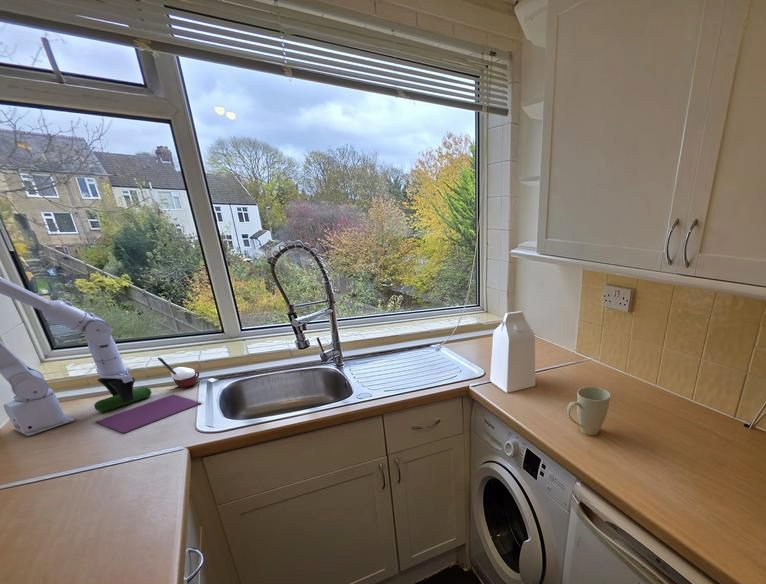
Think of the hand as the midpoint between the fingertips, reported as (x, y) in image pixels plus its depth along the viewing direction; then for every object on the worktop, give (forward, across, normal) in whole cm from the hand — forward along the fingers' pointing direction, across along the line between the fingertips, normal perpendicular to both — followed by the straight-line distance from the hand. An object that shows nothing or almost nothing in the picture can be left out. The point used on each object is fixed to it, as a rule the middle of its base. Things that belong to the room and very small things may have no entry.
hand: (124, 399), depth 125 cm
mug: (+2, -134, -46) cm, 142 cm away
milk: (+2, -101, -68) cm, 122 cm away
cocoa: (+2, -2, -16) cm, 16 cm away
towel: (+2, -13, 0) cm, 13 cm away
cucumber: (+2, 0, 0) cm, 2 cm away
